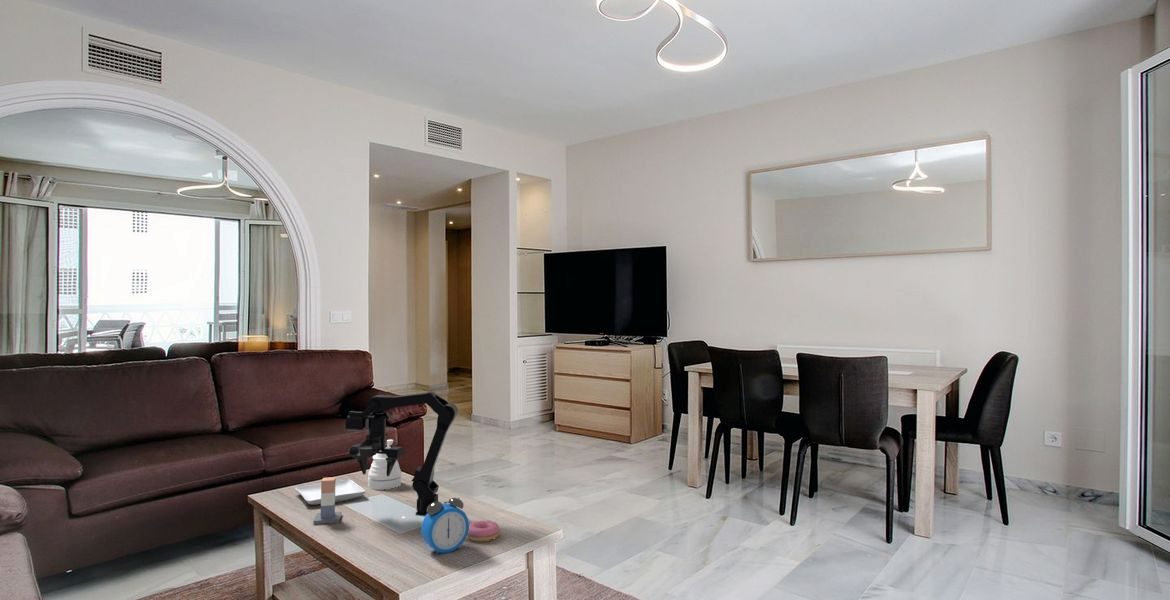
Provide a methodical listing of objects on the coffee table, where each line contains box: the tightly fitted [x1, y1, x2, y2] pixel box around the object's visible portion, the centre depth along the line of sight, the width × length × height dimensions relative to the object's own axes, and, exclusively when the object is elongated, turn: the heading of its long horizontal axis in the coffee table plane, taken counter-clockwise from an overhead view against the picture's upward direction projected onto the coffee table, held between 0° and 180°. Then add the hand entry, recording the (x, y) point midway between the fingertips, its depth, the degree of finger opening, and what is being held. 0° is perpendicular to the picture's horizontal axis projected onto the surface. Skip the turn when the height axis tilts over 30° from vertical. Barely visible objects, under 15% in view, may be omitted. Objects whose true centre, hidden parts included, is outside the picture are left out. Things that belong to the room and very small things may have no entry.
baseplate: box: [312, 511, 343, 525], centre depth 212 cm, size 8×8×1 cm
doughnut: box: [466, 520, 501, 542], centre depth 199 cm, size 11×11×4 cm
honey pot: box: [367, 439, 402, 491], centre depth 254 cm, size 13×13×18 cm
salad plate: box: [294, 479, 366, 506], centre depth 238 cm, size 21×21×3 cm
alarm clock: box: [420, 497, 470, 556], centre depth 187 cm, size 13×6×15 cm, turn 128°
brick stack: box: [320, 476, 337, 519], centre depth 212 cm, size 4×4×13 cm
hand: (376, 475), depth 221 cm, fingers open, 9 cm apart
